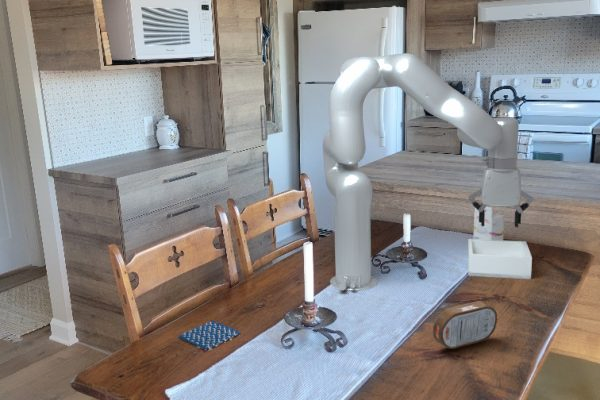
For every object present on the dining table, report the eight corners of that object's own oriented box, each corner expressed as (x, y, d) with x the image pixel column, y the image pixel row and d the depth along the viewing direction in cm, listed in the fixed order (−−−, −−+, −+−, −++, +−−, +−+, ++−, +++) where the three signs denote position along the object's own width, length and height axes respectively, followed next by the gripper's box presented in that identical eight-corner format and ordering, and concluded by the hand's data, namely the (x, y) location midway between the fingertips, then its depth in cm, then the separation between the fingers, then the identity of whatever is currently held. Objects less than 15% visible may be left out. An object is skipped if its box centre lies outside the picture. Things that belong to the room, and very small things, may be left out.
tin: (488, 332, 124) (490, 296, 122) (499, 338, 121) (500, 301, 120) (431, 348, 118) (431, 310, 117) (440, 354, 116) (441, 315, 114)
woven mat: (175, 344, 125) (174, 335, 125) (212, 327, 133) (212, 318, 133) (205, 358, 119) (205, 349, 118) (243, 339, 126) (243, 331, 126)
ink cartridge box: (503, 253, 175) (505, 206, 172) (490, 255, 173) (492, 208, 170) (485, 245, 183) (486, 200, 180) (472, 248, 181) (473, 202, 178)
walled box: (530, 279, 153) (532, 257, 152) (468, 275, 158) (469, 254, 156) (524, 261, 168) (526, 241, 166) (467, 258, 172) (468, 239, 170)
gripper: (468, 165, 155) (466, 228, 159) (538, 166, 150) (534, 230, 154) (468, 161, 162) (466, 221, 166) (534, 161, 157) (531, 223, 161)
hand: (499, 225), depth 160 cm, fingers open, 8 cm apart
